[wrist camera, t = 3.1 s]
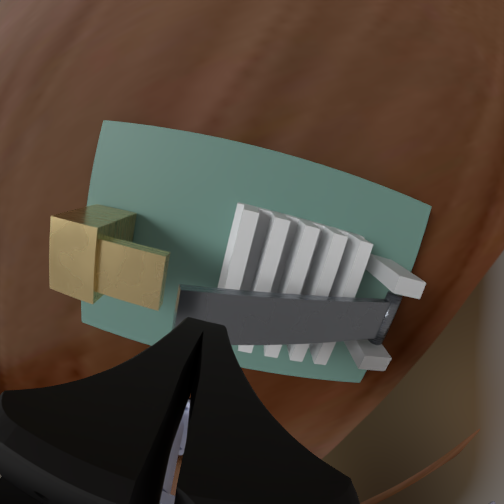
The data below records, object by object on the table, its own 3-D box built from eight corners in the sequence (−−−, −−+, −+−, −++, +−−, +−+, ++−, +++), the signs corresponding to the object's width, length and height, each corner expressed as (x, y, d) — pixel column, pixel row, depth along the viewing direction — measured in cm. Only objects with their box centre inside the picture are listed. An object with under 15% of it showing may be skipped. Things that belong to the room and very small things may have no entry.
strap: (374, 336, 16) (384, 344, 16) (169, 339, 11) (171, 354, 11) (394, 291, 16) (405, 298, 15) (179, 271, 11) (183, 282, 10)
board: (356, 375, 22) (377, 419, 16) (87, 316, 20) (53, 351, 15) (424, 204, 18) (471, 216, 13) (110, 122, 16) (66, 108, 11)
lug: (178, 285, 18) (155, 324, 13) (91, 261, 17) (49, 288, 12) (189, 225, 17) (166, 245, 12) (97, 204, 16) (51, 215, 11)
